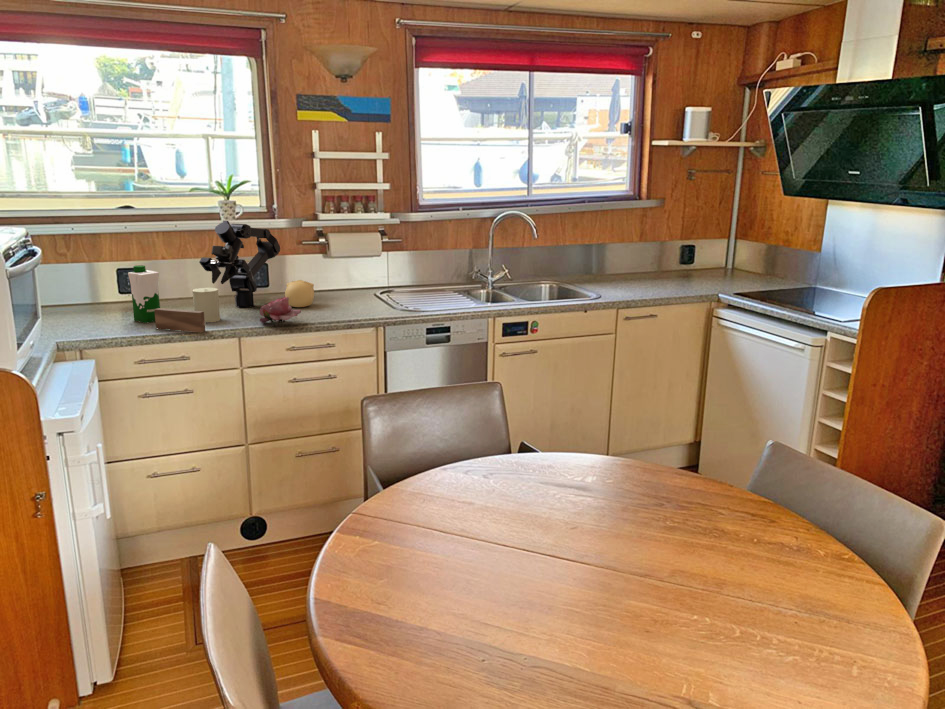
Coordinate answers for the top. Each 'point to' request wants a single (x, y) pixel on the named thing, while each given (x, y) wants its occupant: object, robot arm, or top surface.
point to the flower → (278, 311)
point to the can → (207, 303)
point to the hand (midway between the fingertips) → (217, 283)
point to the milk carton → (144, 293)
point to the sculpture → (299, 293)
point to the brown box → (180, 320)
